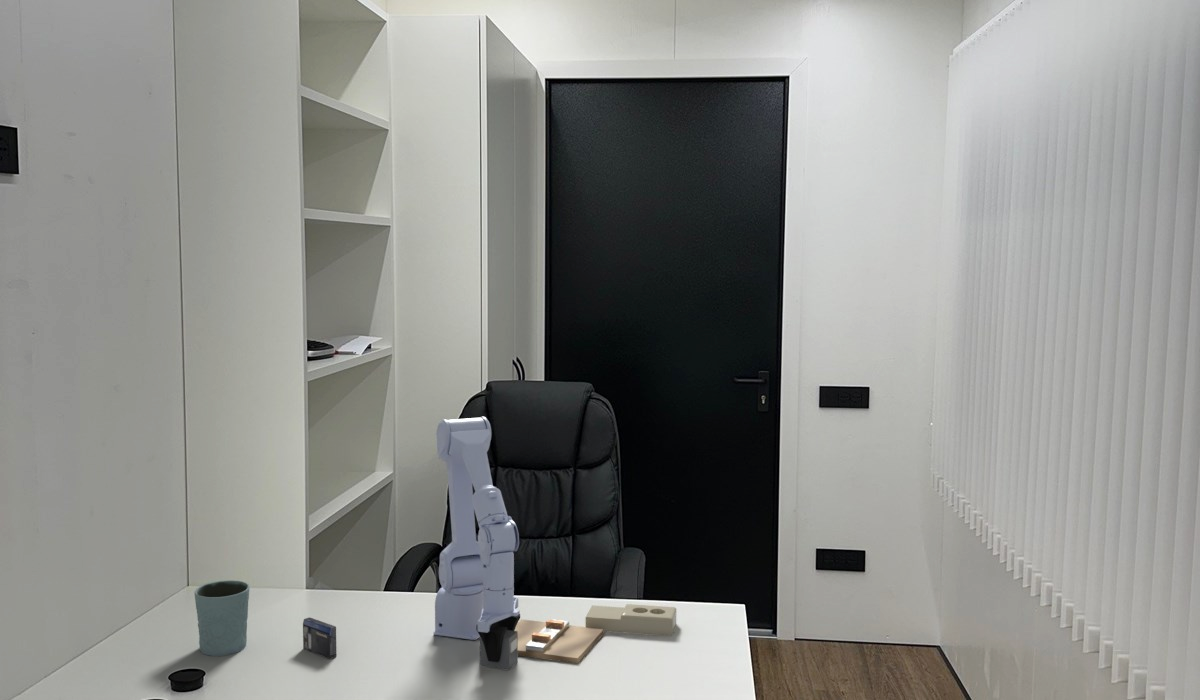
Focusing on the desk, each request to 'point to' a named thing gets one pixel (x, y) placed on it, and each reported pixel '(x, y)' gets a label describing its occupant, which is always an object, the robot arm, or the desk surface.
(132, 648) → the desk surface
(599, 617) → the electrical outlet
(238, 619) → the teal cup
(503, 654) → the block
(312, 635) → the mini dv tape
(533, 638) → the din rail
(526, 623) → the mounting board
